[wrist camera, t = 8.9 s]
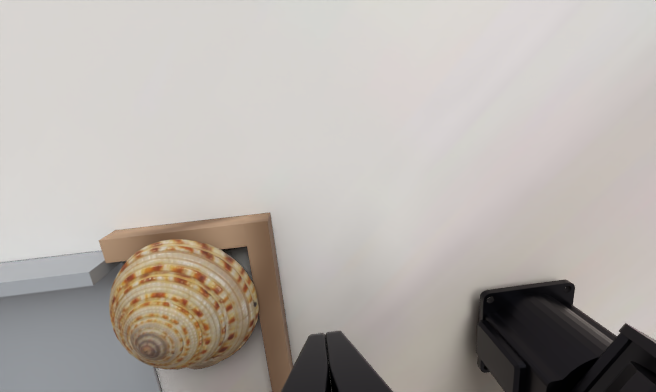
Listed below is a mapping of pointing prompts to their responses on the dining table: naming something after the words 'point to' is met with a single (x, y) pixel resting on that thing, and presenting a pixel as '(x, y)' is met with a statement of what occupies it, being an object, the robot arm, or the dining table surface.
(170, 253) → the seashell
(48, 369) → the tray
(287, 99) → the dining table surface
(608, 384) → the robot arm
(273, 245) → the cradle
